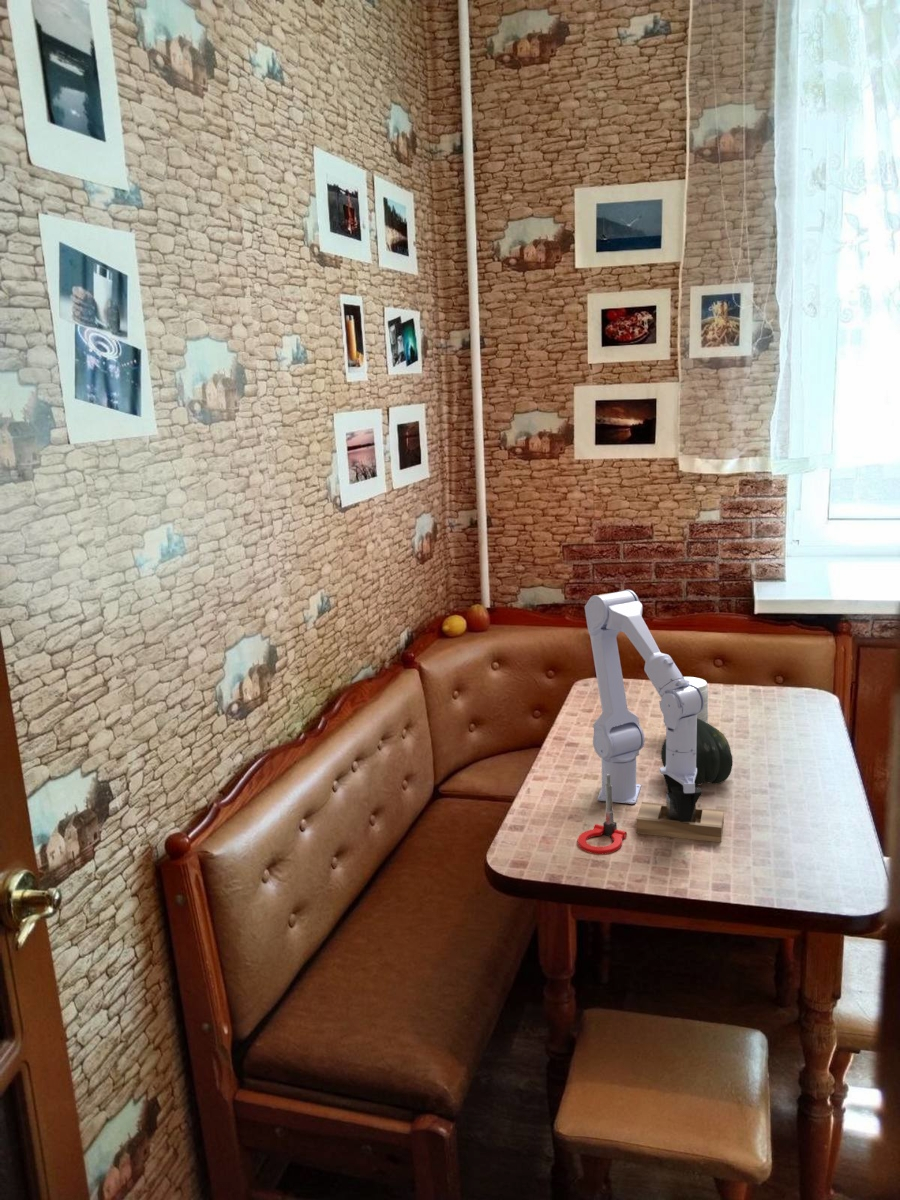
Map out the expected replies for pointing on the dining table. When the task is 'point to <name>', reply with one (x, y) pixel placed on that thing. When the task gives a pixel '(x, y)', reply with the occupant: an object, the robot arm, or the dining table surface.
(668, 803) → the grey rectangular prism
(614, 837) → the tow hook
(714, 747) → the squash
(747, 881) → the dining table surface
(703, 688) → the supplement tub
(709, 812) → the open wooden tray
